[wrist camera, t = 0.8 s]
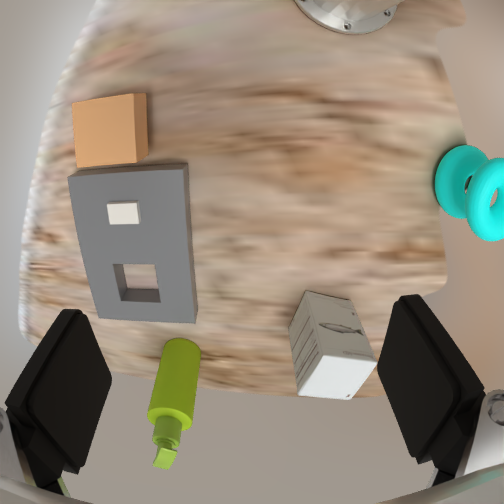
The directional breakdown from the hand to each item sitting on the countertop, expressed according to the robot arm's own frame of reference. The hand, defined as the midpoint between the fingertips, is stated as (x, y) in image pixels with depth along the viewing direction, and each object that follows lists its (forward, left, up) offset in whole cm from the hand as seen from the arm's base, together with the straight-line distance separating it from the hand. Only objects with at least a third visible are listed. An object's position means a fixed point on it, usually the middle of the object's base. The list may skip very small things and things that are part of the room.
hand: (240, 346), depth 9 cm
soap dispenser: (+28, -9, -29) cm, 42 cm away
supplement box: (+21, +11, -29) cm, 38 cm away
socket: (+10, -13, -29) cm, 33 cm away
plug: (-5, -13, -29) cm, 32 cm away
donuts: (0, +29, -29) cm, 41 cm away
